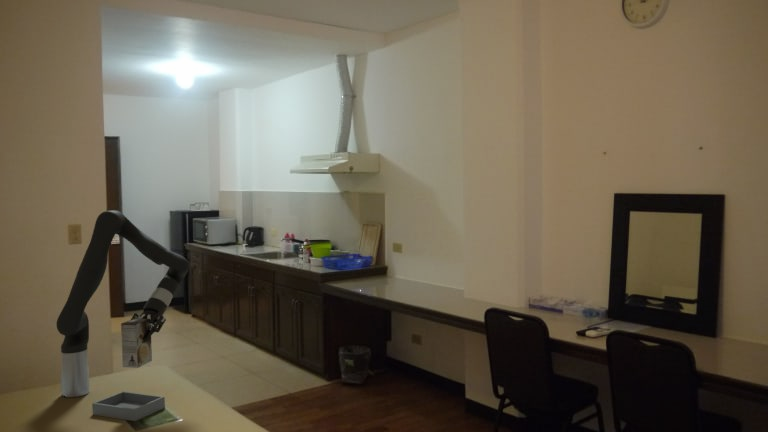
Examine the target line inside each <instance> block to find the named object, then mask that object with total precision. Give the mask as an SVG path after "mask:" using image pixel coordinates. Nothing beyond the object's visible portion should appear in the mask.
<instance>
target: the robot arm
mask: <svg viewBox="0 0 768 432" xmlns="http://www.w3.org/2000/svg"><path fill="white" fill-rule="evenodd" d="M115 235H117V236H119V237H121V238H123V239H125V240H127V241H128V242H129V243H130V244H132V245H133V246H134V247H135V248H136V249H137V251H139V252H140V253H141V254H142V255H143V256H144V257H145V258H147V259H148V260H150V261H151V262H153V263H154V264H156V265H158V266H162V265H165V266H166V267H168V269H167V270H166V271H167V272H166V273H165V275H164V276H163V278H162V279H161V280H160V282H159V283H158V285H157V286H156V288H155V289H154V291H153V292H152V293H151V294H150V296H149V298H148V300H147V301H146V302H145V304H144V306H143V311H142V313H140V314H138V313H137V312H135V313H134V314H133V315H132V317H131V318H130V320H132V319H135V318H145V319H150V321H149V323H148V330H147V331H146V333H145V335H144V337H143V340H144V341H145V342H147V341H148V340H149V339H150V337H151V338H152V335H154V334H155V333H160V331H161V329H162V328H163V326H164V324H165V323H166V321H167V319H166V317H165V316H164V314H165V312H166V310H167V309H168V307H169V305H170V304H171V302H172V299H173V297H174V296H175V294H176V292H177V291H178V288H179V286H180V285H181V284H182V282H183V280H184V279H185V277H186V275H187V273H188V271H189V269H190V263H189V262H190V261H188V259H186V257H184V256H183V255H181V254H178V253H176V252H173V251H172V250H169V249H167V248H166V247H165V246H163V245H162V244H160V243H159V242H157V241H156V240H154V239H153V238H151V237H150V236H148V235H147V234H146V233H144V232H143V231H142V230H140V228H138V227H137V225H134V223H133V222H132V221H130V219H128V217H127V216H126V215H125V214H124V213H122V212H121V211H119V210H115V209H114V210H105V211H103V212H101V213H100V214H98V216H97V217H96V220H95V223H94V228H93V232H92V235H91V239H90V241H89V244H88V247H87V248H86V250H85V253H84V255H83V258H82V261H81V262H80V265H79V267H78V269H77V270H78V271H77V272H76V275H75V278H74V281H73V284H72V287H71V289H70V291H69V295H68V297H67V300H66V302H65V304H64V306H63V308H62V310H61V312H60V313H59V315H58V317H57V320H56V330H57V331H58V332H59V334H60V335H63V336H64V339H63V341H62V343H61V345H60V351H61V352H60V353H61V354H60V356H61V357H60V358H61V370H60V384H61V385H60V386H61V389H60V390H61V395H62V394H63V395H62V396H63V397H64V396H65V398H77V397H81V396H85V395H87V394H89V393H90V375H89V354H88V343H89V339H90V323H89V322H90V321H89V315H87V312H85V310H86V308H87V307H86V306H87V305H88V303H89V301H90V300H91V299H92V297H93V296H94V294H95V292H96V291H97V290H98V288H99V287H100V285H101V282H102V280H103V278H104V275H105V273H106V270H107V267H108V266H107V265H108V257H109V254H108V253H109V249H110V247H111V243H112V242H113V240H114V238H115Z"/></svg>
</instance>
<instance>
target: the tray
mask: <svg viewBox="0 0 768 432" xmlns="http://www.w3.org/2000/svg"><path fill="white" fill-rule="evenodd" d="M165 399H166V397H165V396H161V395H154V394H148V393H147V394H146V393H140V392H131V391H125V390H124V391H121V392H120V391H119V392H118V393H116V394H113V395H109V396H108V397H106V398H102V399H100V400H97V401H95V402H92V403H91V404H92V406H91V407H92V408H91V409H92V415H94V416H101V417H106V418H113V419H117V420H126V421H131V422H137V421H139V420H141V419H144V418H146V417H147V416H148V417H149V416H150V415H152V414H155V413H156V412H159V411H161V410H164V409H165V408H166V400H165Z"/></svg>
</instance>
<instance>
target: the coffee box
mask: <svg viewBox="0 0 768 432" xmlns="http://www.w3.org/2000/svg"><path fill="white" fill-rule="evenodd" d="M149 321H150V319H145V318H135V319H132V320H131V319H130V320H127V321H124V322H121V324H120V327H121V329H120V330H121V353H122V354H121V357H122V359H121V360H122V361H121V362H122V368H133V369H134V368H135V369H138V368H141V367H142V366H145V365H146V364H149V363H151V362H152V361H153V359H152V358H153V357H152V356H153V355H152V336H151V337H150V339H149V340H148V341H147V342H145V341H144V340H143V337H144V335H145V333H146V331H147V330H148V323H149Z"/></svg>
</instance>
